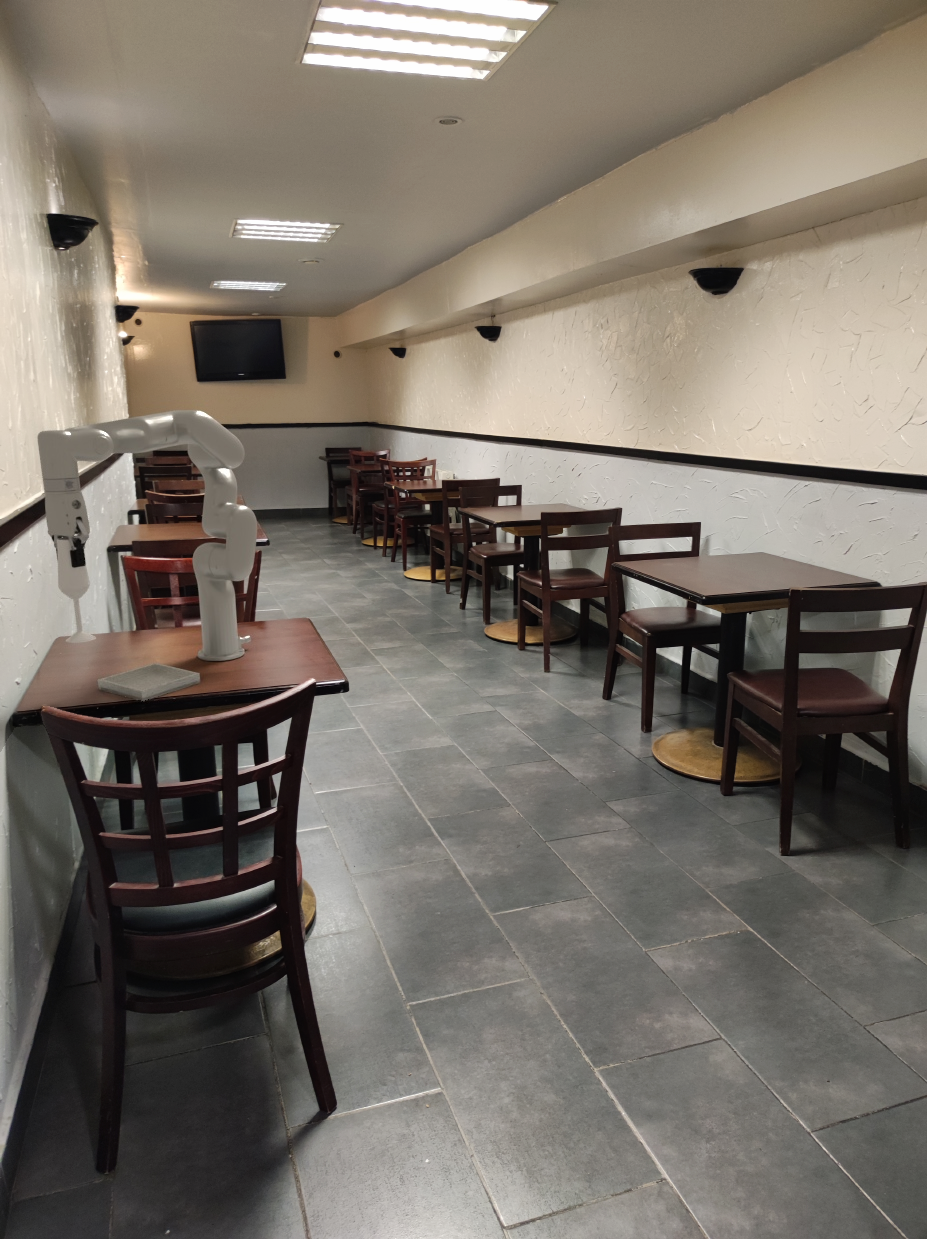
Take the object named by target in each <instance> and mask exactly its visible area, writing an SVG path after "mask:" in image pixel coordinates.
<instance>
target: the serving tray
mask: <svg viewBox="0 0 927 1239" xmlns="http://www.w3.org/2000/svg"><path fill="white" fill-rule="evenodd" d="M200 674H201V673H200V672H195V671H191V670H187V669H183V668H179V667H174V666H171V665H166V664H161V663H158V662H155V663H151V664H147V665H144V666H141V667H136V668H133V669H129V670H128V671H123V672H119V673H117V674H116V673H115V674H112V675H109V676H105V677H102V678H98V679H97V685H98V686H97V688H98V690H100V691H103V692H105V693H106V692H107V693H111V694H113V695H118V696H121V695H122V696H121V697H124V696H126V697H125V698H128V697H130V698H129V699H131V698H134V699H133V700H135V699H138V700H141V701H140V702H142V701H143V702H145V700H146V701H148V699H149V700H152V699H155V698H158V696H159V697H161V696H165V695H167V693H168V694H170V693H173V692H177V691H179V690H182V689H186V688H190V687H192V686H195V685H197V684H201V676H200ZM154 697H155V698H154ZM138 700H137V701H138Z"/></svg>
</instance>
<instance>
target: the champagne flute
mask: <svg viewBox="0 0 927 1239" xmlns="http://www.w3.org/2000/svg"><path fill="white" fill-rule="evenodd" d="M77 539H78V538H77ZM77 539H74V541H75V542H76V540H77ZM70 550H72V549H71V545H70V542H69V538H68V537H64V538H63V537H62V538H58V539H57V554H56V556H57V555H58V561H57V581H58V582H57V585H58V589H59V590H60V592H61V593H63V594H64V595H65V596H66V597H68V598H69V599H71V600H73V608H74V616H75V622H76V623H75V625H76V632H74V633H73V634H72V635H70V637H68V638H66V640H65V642H66V643H70V644H79V643H87V642H91V641H94V640H96V639H97V637H96V635H92V634H91V633H88V632H86V631H84V630H83V624H82V615H81V607H80V599H81V598H82V597H83V596H84V595H85V594H86V593H87V592H88V590H89V589H90V586H91V582H90V578H89V574H88V570H87V564H86V565H85V566H81V567H75V568H74V567H72V564H71V556H70Z"/></svg>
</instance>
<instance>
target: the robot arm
mask: <svg viewBox="0 0 927 1239" xmlns="http://www.w3.org/2000/svg"><path fill="white" fill-rule="evenodd" d="M36 438H37V447H38V454H39V462H40V469H41V476H42V485H43V491H44V493H43V494H45V496H44V506H45V521H46V526H47V534H48V535H49V536H50V537H51V540H52V542H53V547H54V548H55V553H56V559H57V560H56V561H57V562H58V555H57V539H58V538H64V537H68V538H69V542H70V545H71V549H72V550H70V556H71V564H72V567H74V568H75V567H81V566H85V565H86V566H87V563H86V555H85V549H86V543H87V541H88V540H89V538H90V533H91V528H90V521H89V516H88V510H87V506H86V501H85V498H84V495H83V492H82V491H81V490H82V489H81V483H80V476H79V475H80V474H79V465H78V462H87V463H88V462H90V463H91V462H92V463H93V462H94V463H97V462H98V463H99V462H102V461H105V460H107V459H108V458H109V457H110V456H111V455H112V454H139V453H140V454H141V453H148V452H152V451H156V450H161V449H166V448H170V447H175V446H181V445H187V454H188V457H189V459H190V460H191V462H192V463H193V464H194V466H196V468H197V469H198V471H199V472H200V474H201V475H202V478H203V482H204V495H203V496H204V497H203V508H202V516H201V517H202V518H201V528H202V530H203V532H204V533H205V534H206V535H207V536H209V537H211V538H216V539H224V540H225V541H226V542H225V543H220V542H205V543H202V544H200V545H199V546H197V548H196V549H195V550H194V552H193V556H192V567H193V571H194V574H195V575H194V576H195V578H196V583H197V588H198V589H197V590H198V600H199V614H200V626H201V637H202V638H201V640H202V649H200V650H199V651H198V652H197V658H198V659H199V660H201V661H208V662H222V661H230V660H235V659H239V658H241V657H242V656H243V655H245V649H244V648H243V645H244V644H247V643H250V642H252V638H251V636H250V635H245V636H243V637H241V636H240V635H239V634H238V623H237V622H238V620H237V619H238V618H237V606H236V605H237V604H236V592H235V587H234V584H233V582H240V581H244V580H246V579H248V577H249V576H250V575H251V573H252V571H253V568H254V563H255V557H256V556H255V555H256V548H257V547H256V546H257V536H258V521H257V517H256V515H255V513H254V511H253V510H252V509H251V508H250V507H248V506H247V505H243V504H237V503H238V483H237V482H238V481H237V479H236V475H235V473H234V471H233V469H236V468H238V467H239V466H241V465H242V463H243V462H244V459H245V457H246V456H245V454H246V452H245V447H244V445H243V444H242V441H240V440H239V438H238V437H237V436H236V435H235V434H233V433H232V432H231V431H230V430H228V429H227V428H226V427H224V425H222V424H221V423H220V422H219V421H217V420H216V419H215V418H213V417H212V416H211V415H209V414H208V413H205V412H204V411H202V410H199V409H198V410H196V409H193V410H191V409H190V410H187V409H186V410H185V409H184V410H183V409H181V410H180V409H179V410H178V409H177V410H170V411H165V412H164V411H163V412H159V413H158V412H157V413H151V414H146V415H141V416H140V415H139V416H133V417H129V418H127V417H126V418H121V419H117V420H113V421H112V420H111V421H105V422H97V423H91V424H85V425H79V426H73V427H69V428H65V429H64V430H63V429H61V430H60V429H58V430H57V429H54V430H53V429H52V430H49V429H48V430H42V431H40V432H39V433H38V434H37V437H36ZM77 538H78V539H77ZM74 539H77V540H76V542H75V541H74ZM238 635H239V636H238Z"/></svg>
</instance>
